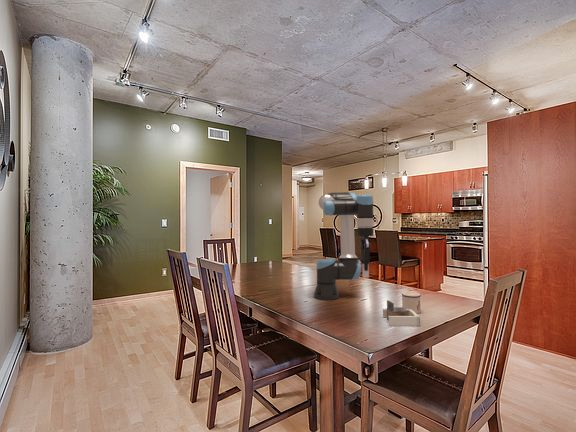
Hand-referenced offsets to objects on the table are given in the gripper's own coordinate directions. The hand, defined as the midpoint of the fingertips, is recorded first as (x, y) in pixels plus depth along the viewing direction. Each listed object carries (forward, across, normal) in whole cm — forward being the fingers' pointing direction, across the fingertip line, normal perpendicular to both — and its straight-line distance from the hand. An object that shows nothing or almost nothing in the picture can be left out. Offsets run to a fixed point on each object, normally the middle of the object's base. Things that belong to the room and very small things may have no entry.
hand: (365, 277), depth 147 cm
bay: (+20, -1, -15) cm, 25 cm away
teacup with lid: (+21, +16, -26) cm, 37 cm away
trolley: (+20, -1, -14) cm, 25 cm away
